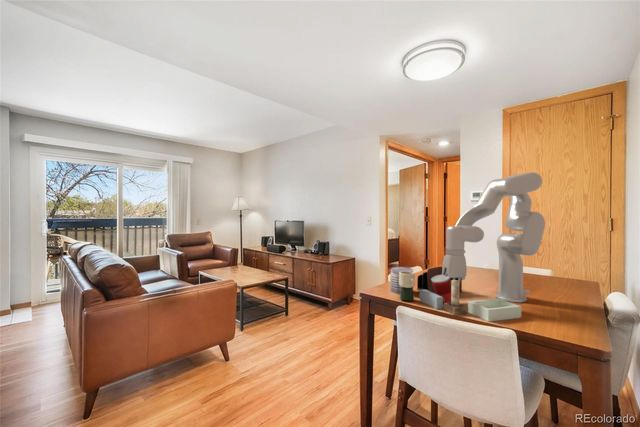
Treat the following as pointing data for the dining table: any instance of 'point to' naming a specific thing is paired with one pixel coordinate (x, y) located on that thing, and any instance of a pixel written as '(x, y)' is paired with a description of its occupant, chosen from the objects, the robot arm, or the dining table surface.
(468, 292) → the dining table surface
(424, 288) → the letter holder
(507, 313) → the tray
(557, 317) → the dining table surface
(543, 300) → the dining table surface
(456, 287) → the dowel
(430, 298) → the block
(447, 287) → the canned food
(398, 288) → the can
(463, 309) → the socket block
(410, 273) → the character mug
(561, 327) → the dining table surface
